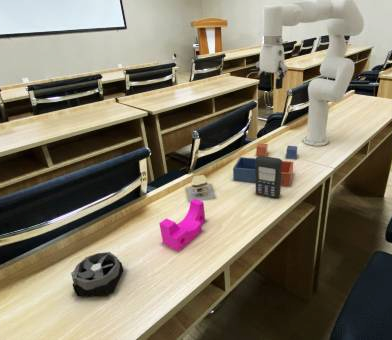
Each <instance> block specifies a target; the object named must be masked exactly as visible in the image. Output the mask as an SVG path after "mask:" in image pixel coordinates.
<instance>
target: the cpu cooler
mask: <svg viewBox="0 0 392 340" xmlns="http://www.w3.org/2000/svg"><path fill="white" fill-rule="evenodd" d="M123 273H124V267H123V263H122V261H120V259H118V256H116V255H115V254H114V253H112V252H110V251H106V252H97V253H93V254H91V255H88V256H86V257H85V258H84V259H81V261H80V262H79V263H78V264H76V266H75V268H74V270H73V271H71V272H70V275H71V277H72V278H71V279H72V282H73V283H72V287H73V290H74V294H75V295H76V296H77V297H78V298H79V297H80V298H88V297H89V298H91V297H92V298H93V297H100V298H101V297H108V296H109V295H110V294H114V292H115V290H116V288H117V285H118V283H119V281H120V279H121V277H122V275H123Z"/></svg>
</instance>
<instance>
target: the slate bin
mask: <svg viewBox="0 0 392 340" xmlns="http://www.w3.org/2000/svg"><path fill="white" fill-rule="evenodd" d="M255 159H256V157H242V156H239V158H238V160H237V161H236V162H235V164H234V166H233V168H232V173H233V174H232V175H233V176H232V177H233V178H232V179H233V181H235V182H242V183H243V182H244V183H254V184H255Z"/></svg>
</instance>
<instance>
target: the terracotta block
mask: <svg viewBox="0 0 392 340" xmlns="http://www.w3.org/2000/svg"><path fill="white" fill-rule="evenodd" d="M268 147H269V145H268V143H261V142H260V143H257V145H256V155H255V156H256V157H257V156H267V154H268V153H269V152H268V151H269V150H268V149H269V148H268Z"/></svg>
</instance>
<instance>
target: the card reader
mask: <svg viewBox="0 0 392 340" xmlns="http://www.w3.org/2000/svg"><path fill="white" fill-rule="evenodd" d="M255 158H256V159H255V183H254V185H255V194H257V195H258V196H263V197H269V198H273V199H279V198H280V196H281V192H282V191H281V189H282V186H281V175H282V161H283V159H281V158H280V157H272V156H267V155H266V156H256V157H255Z"/></svg>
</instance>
